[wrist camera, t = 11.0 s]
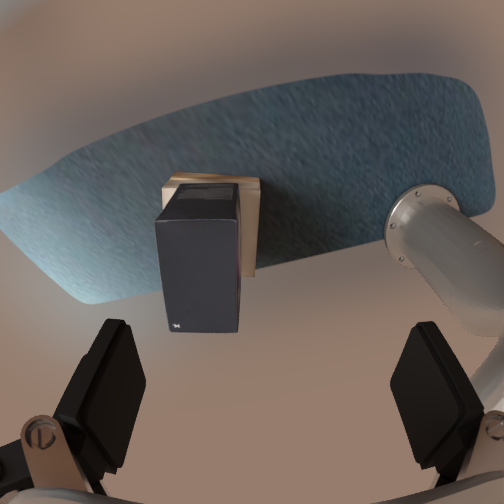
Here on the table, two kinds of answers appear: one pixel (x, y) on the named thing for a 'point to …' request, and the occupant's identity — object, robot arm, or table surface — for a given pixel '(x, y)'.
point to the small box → (201, 257)
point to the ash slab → (248, 217)
